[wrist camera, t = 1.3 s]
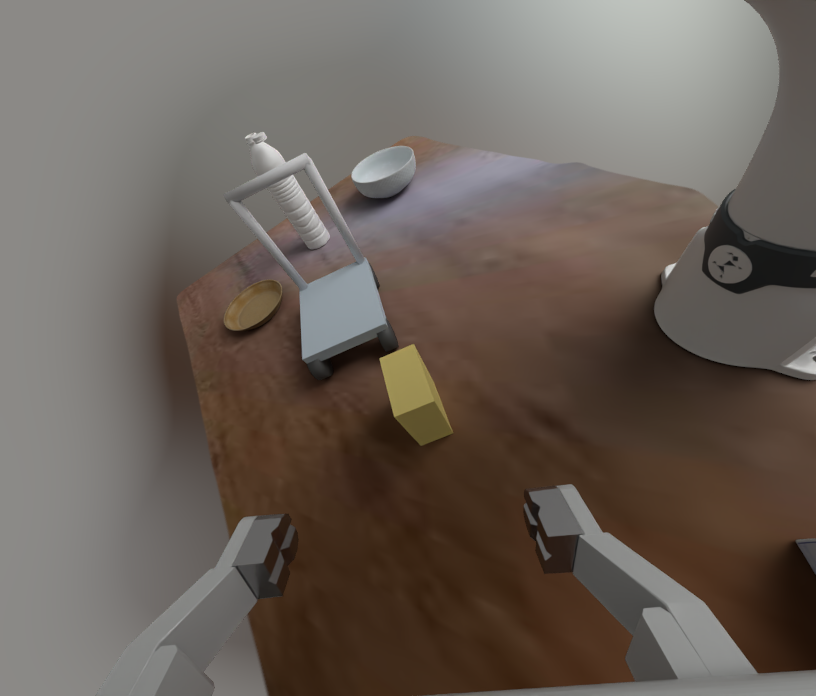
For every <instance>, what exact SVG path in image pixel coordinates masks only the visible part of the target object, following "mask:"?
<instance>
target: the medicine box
mask: <svg viewBox="0 0 816 696" xmlns="http://www.w3.org/2000/svg"><path fill="white" fill-rule="evenodd" d="M796 543H797V545H798V546H799V548H800V549H801V551H802V553H803V554H804V556H805V558H806V559H807V561H808V562H809V564H810V566H811V567H812V569H813V571H814V572H815V574H816V538H815V539H799V540H796Z"/></svg>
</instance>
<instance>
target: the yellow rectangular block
mask: <svg viewBox="0 0 816 696" xmlns="http://www.w3.org/2000/svg"><path fill="white" fill-rule="evenodd" d="M379 359H380V363H381V367H382V371H383V375H384V379H385V383H386V387H387V391H388V395H389V399H390V403H391V406H392V410H393V414H394V417H395V419H396V420H397V421H398V422H399V423H400V424H401V425H402V426H403V427H404V428H405V429H406V430H407V432H408V433H409V434H410V435H411V436H412V437H413V438H414V439H415V440H416V441H417V442H418V443H419V444H420V446H422V445H425V444H427V443H430V442H432V441H435V440H437V439H440V438H443V437H445V436H448V435H450V434H453V431H452V429H451V426H450V423H449V421H448V418H447V415H446V413H445V410H444V408H443V405H442V402H441V400H440V397H439V394H438V392H437V389H436V387H435V384H434V382H433V380H432V378H431V376H430V374H429V372H428V370H427V368H426V366H425V364H424V363H423V361H422V359H421V357H420V355H419V353H418V351H417V349H416V347H415V345H414V344H412V345H410V346H407V347H405V348H403V349H400V350H398V351H396V352H393V353H391V354H389V355H386V356H384V357H382V358H379Z"/></svg>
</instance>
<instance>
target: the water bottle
mask: <svg viewBox="0 0 816 696" xmlns="http://www.w3.org/2000/svg"><path fill="white" fill-rule="evenodd" d="M264 137H265V138H264ZM263 138H264V139H263ZM266 138H267V137H266V135H265V134H264V132H260V133H258V134H256V133H255V132H254V133H251V134H249V135H248V136H246V137H245V139H246V141H247V144H248V145H249V146H250V156H251V164H252V167H253V169H254V171H255V173H256V174H257V175H258V176H260V175H262V174H264V173H266V172H268V171H270V170H272V169H274V168H276V167H278V166H280V165H282V164H284V163H286V162H285V161H284V159H283V157H282V156H281V154H280V153H279V152H278V151H277V150H276V149H274V148H273V147H271V146H269V145H268V144H266V143H264V142H263V141H264V140H265V139H266ZM267 190H268V191H269V192H270V194H271V195H272V197H273V198H274V199H275V201H276V202H277V204H278V205H279V207H280V208H281V210H282V211H283V212H284V214H285V215H286V217H287V218H288V219H289V221H290V223H291V224H293V227H294V228H295V230H296V231H297V232H298V234H299V235H300V237H301V238H302V239H303V241H304V243H305V244H306V246H307V247H308V248H309V249H318V248H320V247H321V246H323V245H325V244H326V243H327V241H328V240H329V238H330V235H329V233H328V231H327V230H326V228H325V227H324V225H323V223H322V222H321V220H320V219H319V217H318V215H317V214H316V213H315V210H314V208H313V207H312V206H311V203H310V202H309V200H308V199H307V198H306V195H305V193H304V192H303V190H302V189H301V188H300V185H299V184H298V182H297V181H296V179H295V177H294V176H293V175H291V176H289V177H287V178H285V179H283V180H281V181H279V182H277V183H275V184H273V185H271V186H269V187H267Z"/></svg>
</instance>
